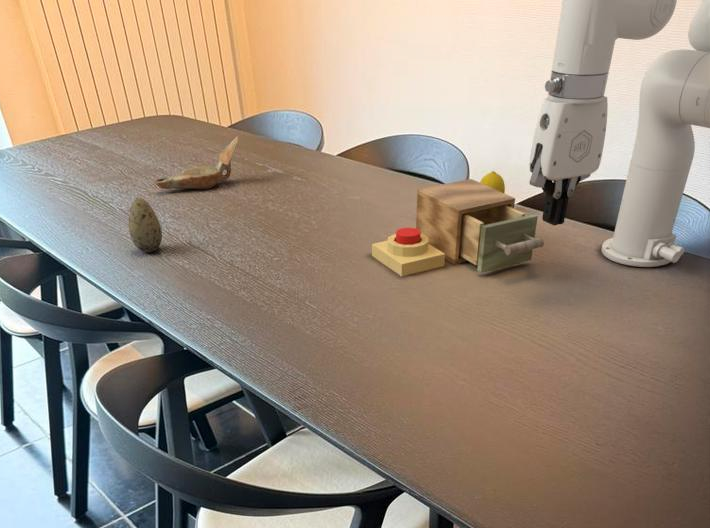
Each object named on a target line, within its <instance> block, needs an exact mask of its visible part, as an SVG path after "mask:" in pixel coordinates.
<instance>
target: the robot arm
mask: <svg viewBox="0 0 710 528" xmlns="http://www.w3.org/2000/svg"><path fill="white" fill-rule="evenodd" d="M677 1H678V0H562V1H561V8H560V15H559V21H558V27H557V33H556V39H555V45H554V46H555V47H554V54H553V59H552V65H551V66H552V67H551V72H550V79H549V80H547V81H546V82H545V83H544V90H545V91H546V92H547V96H546V97H545V98H544V99H543V102H542V106H541V108H540V112H539V115H538V119H537V122H536V126H535V130H534V135H533V140H532V144H531V150H530V156H529V172H530V173H531V176H530V179H529V182H528V183H529V185H530V186H532V187H535V188H541V190H542V194H543V195H545V200H544V205H543V212H542V217H541V220H542V221H543V222H544V223H547V224H549V225H551V226H558V225H563V224H564V223H565V219H566V214H567V209H568V203H569V197H572V196H573V195H574V192H575V188H576V187H577V186H578V184H579V183H580V182H582V181H584V180H586V179H588V178H589V177H591V175H592V174H593V173H596V172H597V171H598V169H599V167H600V165H601V162H602V157H603V152H604V147H605V139H606V133H607V125H608V124H607V123H608V111H609V110H608V109H609V108H608V106H609V105H608V97H607V96H605V93H606V89H607V84H608V78H609V75H610V73H609V72H610V69H611V63H612V58H613V55H614V49H615V44H616V40H617V39H623V40H633V41H640V40H641V41H642V40H646V39H649V38H651V37H654V36H655V35H657V34H658V33H660V32H661V31H662V30H663V29H664V28H665V27H666V26H667V24H668V23H669V22H670V20H671V19H672V17H673V15H674V12H675V9H676V5H677ZM687 39H688V43H689V45H690V46H691V47H692V49H673V50H669V51H666V52H663V53H662V54H660V55H658V56H656V58H654V59H653V60H652V61H651V63H650V64H649V65H648V66H647V68H646V70H645V72H644V74H643V76H642V79H641V85H640V89H639V100H638V103H639V105H638V121H637V129H636V135H635V140H634V144H633V150H632V153H631V159H630V162H629V166H628V170H627V175H626V180H625V184H624V188H623V193H622V197H621V201H620V207H619V211H618V214H617V219H616V222H615V227H614V231H613V237H610V238H608V239H606V240H605V241H603V243H602V246H601V249H600V250H601V253H602V255H603V256H604V257H605V258H606V259H608V260H610V261H612V262H615V263H617V264H621V265H624V266H629V267H635V268H636V267H638V268H654V267H661V266H665V265H668V264H670V263H673V264H676V263H677V262H678V261H679V260H680V258H681V256H683V255H684V253H685V248H684V247H683V246H679V245H676V239H677V234H676V233H673V230H674V226H675V223H676V218H677V217H678V213H679V209H680V205H681V203H682V199H683V195H684V191H685V188H686V184H687V181H688V177H689V174H690V170H691V167H692V163H693V161H694V156H695V150H696V149H695V147H696V142H695V135H694V130H693V128H692V126H695V127H701V128H706V129H710V0H702V1H701V3H700V4H699V5H698V8H697V9H696V11H695V13H694V15H693V17H692V19H691V21H690V23H689V27H688V31H687Z"/></svg>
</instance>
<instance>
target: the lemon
mask: <svg viewBox="0 0 710 528" xmlns="http://www.w3.org/2000/svg"><path fill="white" fill-rule="evenodd" d="M479 183H482V184H484V185H486V186H488V187H491V188H493V189H495V190H497V191H500V192H502V193H504V194H506V193H505V191H506V186H505V185H506V184H505V180H504V178H503V177H502V176H501V175H500V174H499V173H497V172H496V171H494V170H491V172H488V173H487V174H485V175H484V176H483V177H482V178H481V180H480V181H479Z"/></svg>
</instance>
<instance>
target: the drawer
mask: <svg viewBox="0 0 710 528" xmlns="http://www.w3.org/2000/svg"><path fill="white" fill-rule="evenodd" d="M538 218H539V216H538V215H537V214H534V213H533V214H527V215H526V213H525V212H522V211H521V210H519V209H516V208H515V207H514V208H512V207H510V206H507V205H502V206H498V207H493V208H489V209H484V210H479V211H475V212H470V213H466V214H462V220H461V232H460V245H459V256H461V257H463V258H464V259H466V260H468V261H467V262H469V263H471V264H473V265H474V266H477V267H476V268H477V272H479V273H481V274H482V273H486V272H490V271H491V272H492V271H495V270H498V269H502V268H506V267H510V266H513V265H518V264H522V263H525V262H529V261H532V257H533V250H535V249H536V250H537V249H539V248H542V247H544V245H545V240H544V239H543V238H542V237H536V231H537V225H538Z"/></svg>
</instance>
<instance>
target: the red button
mask: <svg viewBox="0 0 710 528" xmlns="http://www.w3.org/2000/svg"><path fill="white" fill-rule="evenodd" d="M395 234H396V242H397V243H398V244H403V245H413V244H417V243H419V242H420V236H421V232H420V230H418V229H416V227H402V228H399V229H397V230H396V231H395Z"/></svg>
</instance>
